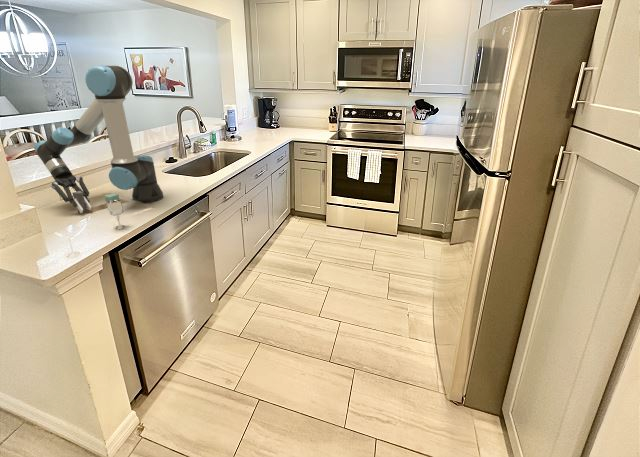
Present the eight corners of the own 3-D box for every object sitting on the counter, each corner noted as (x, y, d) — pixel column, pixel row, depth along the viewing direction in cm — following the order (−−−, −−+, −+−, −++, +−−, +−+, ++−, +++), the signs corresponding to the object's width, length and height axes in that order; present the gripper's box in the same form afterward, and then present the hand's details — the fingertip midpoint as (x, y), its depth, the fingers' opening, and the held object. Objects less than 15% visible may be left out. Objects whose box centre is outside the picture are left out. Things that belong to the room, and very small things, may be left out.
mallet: (122, 200, 185) (117, 180, 181) (129, 203, 182) (124, 182, 177) (77, 213, 169) (70, 191, 164) (84, 216, 165) (77, 194, 161)
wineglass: (113, 225, 156) (107, 200, 151) (128, 223, 158) (122, 198, 153) (111, 230, 151) (104, 204, 146) (126, 228, 153) (120, 202, 148)
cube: (115, 201, 182) (113, 193, 180) (120, 203, 179) (118, 194, 177) (106, 204, 178) (104, 195, 176) (111, 205, 176) (109, 197, 174)
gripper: (76, 171, 175) (102, 209, 173) (38, 179, 163) (66, 219, 161) (78, 162, 170) (105, 200, 169) (40, 169, 158) (68, 211, 156)
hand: (86, 210), depth 165 cm, fingers closed on mallet, 3 cm apart
